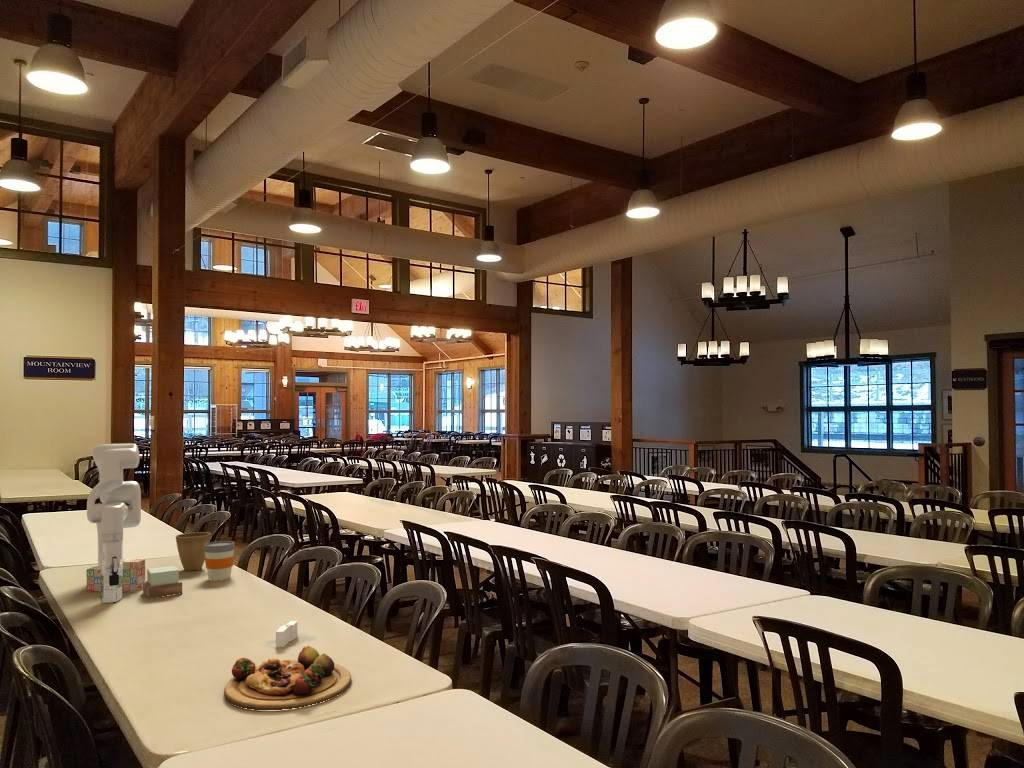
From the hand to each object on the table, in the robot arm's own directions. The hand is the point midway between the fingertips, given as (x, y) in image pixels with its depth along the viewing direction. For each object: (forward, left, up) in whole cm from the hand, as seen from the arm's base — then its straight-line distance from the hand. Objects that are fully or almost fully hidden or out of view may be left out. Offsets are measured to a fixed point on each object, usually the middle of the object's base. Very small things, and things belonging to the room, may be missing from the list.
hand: (112, 583), depth 287 cm
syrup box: (0, 0, -7) cm, 7 cm away
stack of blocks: (-20, +5, -7) cm, 22 cm away
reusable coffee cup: (-13, +44, -7) cm, 46 cm away
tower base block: (0, +18, -7) cm, 20 cm away
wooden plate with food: (+131, +20, -8) cm, 133 cm away
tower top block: (0, +18, -2) cm, 18 cm away
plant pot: (-40, +40, -7) cm, 57 cm away
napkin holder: (+93, +35, -8) cm, 100 cm away
